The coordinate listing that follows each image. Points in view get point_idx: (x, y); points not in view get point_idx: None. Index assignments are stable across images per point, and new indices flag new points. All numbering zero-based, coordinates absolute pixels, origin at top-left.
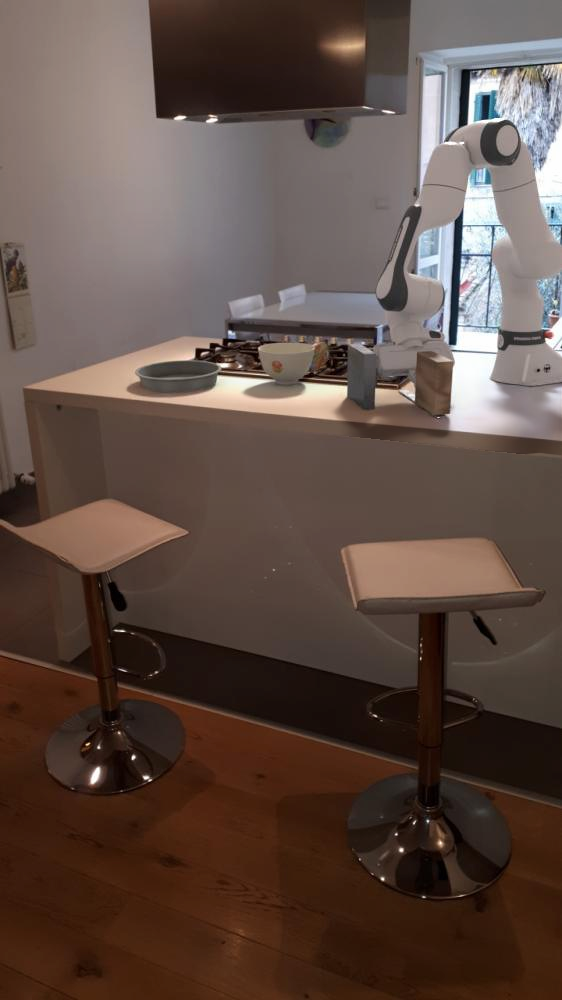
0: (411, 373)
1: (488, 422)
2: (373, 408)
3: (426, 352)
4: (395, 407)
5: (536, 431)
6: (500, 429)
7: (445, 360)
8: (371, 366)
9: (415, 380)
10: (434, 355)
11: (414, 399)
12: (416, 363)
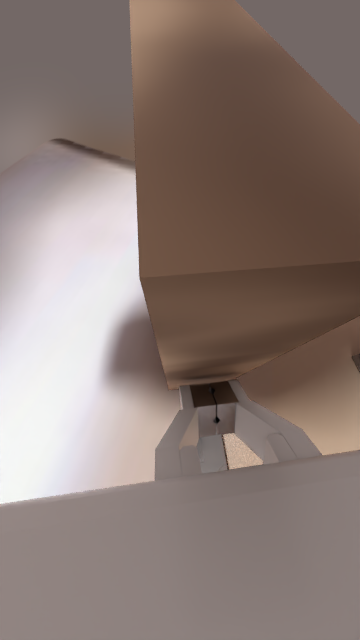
0: (293, 432)
1: (91, 215)
2: (356, 355)
3: (287, 177)
4: (286, 364)
5: (40, 167)
6: (94, 182)
7: (170, 5)
8: None
9: (248, 401)
10: (205, 71)
11: (214, 445)
12: (317, 336)
